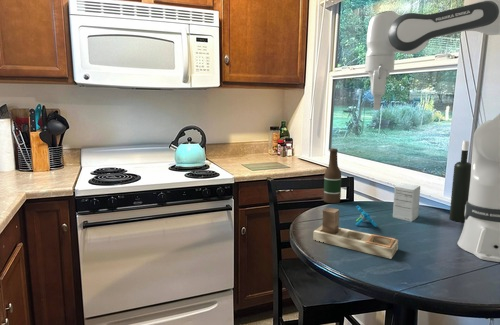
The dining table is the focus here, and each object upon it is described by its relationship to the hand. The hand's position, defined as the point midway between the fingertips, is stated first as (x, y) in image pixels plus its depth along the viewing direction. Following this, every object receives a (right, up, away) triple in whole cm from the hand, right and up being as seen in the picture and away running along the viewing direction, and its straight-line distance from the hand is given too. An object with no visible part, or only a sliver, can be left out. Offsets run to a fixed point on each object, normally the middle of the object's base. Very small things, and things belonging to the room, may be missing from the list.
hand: (376, 109), depth 114 cm
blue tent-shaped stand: (+1, -41, +12) cm, 43 cm away
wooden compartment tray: (-9, -44, -4) cm, 45 cm away
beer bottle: (-5, -35, +42) cm, 55 cm away
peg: (-15, -43, 0) cm, 46 cm away
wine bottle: (+37, -39, +17) cm, 57 cm away
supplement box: (+19, -39, +20) cm, 48 cm away
